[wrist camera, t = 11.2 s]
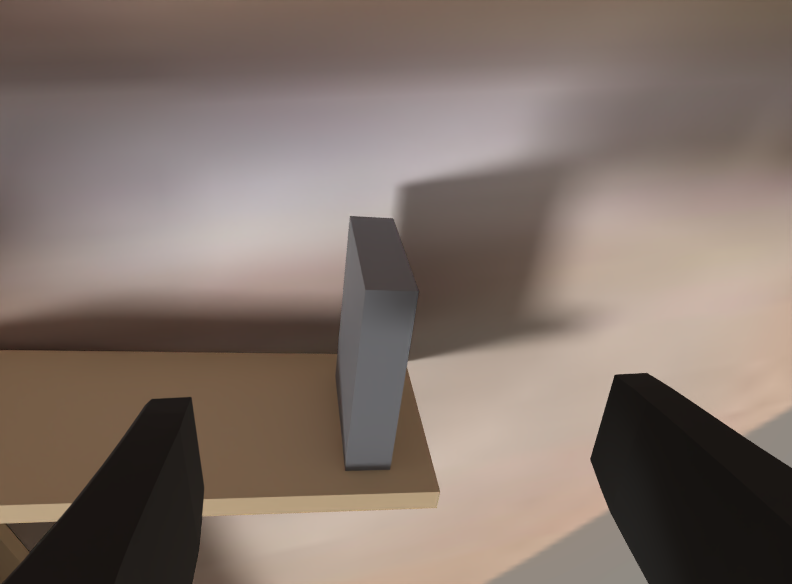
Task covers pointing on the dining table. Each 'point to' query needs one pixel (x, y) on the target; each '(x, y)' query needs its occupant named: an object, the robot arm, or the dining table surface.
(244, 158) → the dining table surface
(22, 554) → the carton
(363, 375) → the front flap
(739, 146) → the dining table surface
